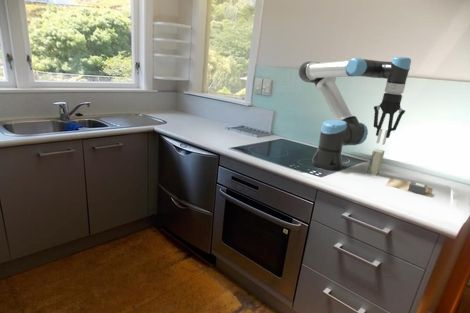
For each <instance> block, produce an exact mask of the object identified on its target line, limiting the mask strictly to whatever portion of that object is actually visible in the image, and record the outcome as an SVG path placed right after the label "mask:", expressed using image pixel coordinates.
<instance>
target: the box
mask: <svg viewBox="0 0 470 313" xmlns="http://www.w3.org/2000/svg"><path fill="white" fill-rule="evenodd" d="M384 155H385V150H383V149H382V150H381V149H378V148H375V149H373V150H372V153H371V158H370V161H369V164H368V169H367V174H370V175H372V176H373V175H374V176H378V175H379V174H380V170H381V167H382V162H383V159H384Z"/></svg>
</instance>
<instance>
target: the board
mask: <svg viewBox="0 0 470 313" xmlns="http://www.w3.org/2000/svg"><path fill="white" fill-rule="evenodd" d="M410 183H411V181H407V180H403V179H400V178H396V177H392V176H391V177H390V178H389V179H388V181H387V182H386V184H385V186H388V187H392V188H396V189H398V190H401V191H404V192H406V191H407V192H409V193H413V194H417V195H420V196H423V197H427V198H432V194H433V189H434V187H431V186H427V188H426V191H425V194H424V195H421V194H418V193H414V192H411V191H408V189H409V185H410Z"/></svg>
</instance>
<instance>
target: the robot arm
mask: <svg viewBox="0 0 470 313" xmlns="http://www.w3.org/2000/svg"><path fill="white" fill-rule="evenodd" d="M411 59H412V58H410V57H402V56H394V57H393V58H392V59H391V61H383V60H382V61H380V60H376V59H375V60H374V59H365V58H361V57H354V58H351V59H347V60H346V59H345V60H336V61H335V60H334V61H324V62H319V61H318V62H317V61H305V62H303V63H302V64H301V65H300V66H299V69H298V76H299V78H300V79H301V81H303V82H305V83H313V84H314V85H315V87H316V89H317V90H320V92H321V93H322V96H323V97H324V99H325V102H326V104H327V105H328V108H329V111H330V112H331V115H332V116H333V118H334V119H329V120H325V121H324V122H323V123H322V126H321V127H320V135H319V139H318V140H319V141H318V146H317V150H316V152H315V154H314V155H313V157H312V161H311V163H312V165H313V166H315V167H317V168H320V169H323V170H324V169H325V170H328V171H329V170H330V171H331V170H332V171H338V170H341V169H342V168H343V158H342V150H343V146H346V147H347V146H359V145H361V144H363V143H364V142H365V141H366V140H367V137H368V134H369V131H368V127H367V125H366V124H365V123H362V122H359V120H358V118H357V116H356V115H353V114H352V113H351V111H350V109H349V108H348V104H347V103H346V101H345V99H344V97H343V96H342V94H341V91H340V90H339V88H338V85H337V83H336V81H337V78H343V77H344V78H345V77H347V78H348V77H351V78H352V77H363V78H364V77H365V78H374V79H386V84H385V88H384V93H383V95H382V99H381V102H380V103H379V105H374V106H373V110H374V118H373V128H375V129H376V131H375V132H376V133H375V136H376V137H377V138H376V142H375V143H376V144H379V143H380V142H381V137H382V132H383V129H382V127H383V125H384V124H383V123H384V120H385V118H386V116H387V114H388V115H389V116H388V117H389V118H388V125H387V130H385V131H384V134H383V139H382V142H381V145H383V146H384V145H386V141H387V139H388V138H390V136H391V132H395V131H396V130H397V127H398V125H399V123H400V122H401V118H402V116H403V115H404V114H405V113H406V110H405V109H403V108H401V102H402V99H403V95H402V94H403V93H404V91H405V86H406V83H407V79H408V75H409V72H410V70H411V63H412V60H411ZM380 109H381V111H382V113H381V117H380V120H379V110H380ZM397 112H398V115H397V117H396V118H395V119H396V120H395V122H394V116H395V114H396V113H397ZM378 121H379V122H378ZM393 122H394V124H393Z"/></svg>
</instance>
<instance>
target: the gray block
mask: <svg viewBox="0 0 470 313" xmlns="http://www.w3.org/2000/svg"><path fill="white" fill-rule="evenodd" d="M410 182H411V183H410V185H409V189H408V191H407V192H409V191H411V192H410V193H412V192H414V193H413V194H416V193H418V194H417V195H419V194H421V195H420V196H423V195H424V194H425V191H426V188H427V187H428V185H427V184H423V183H419V182H415V181H410Z"/></svg>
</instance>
